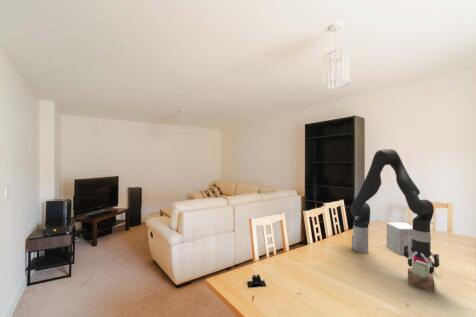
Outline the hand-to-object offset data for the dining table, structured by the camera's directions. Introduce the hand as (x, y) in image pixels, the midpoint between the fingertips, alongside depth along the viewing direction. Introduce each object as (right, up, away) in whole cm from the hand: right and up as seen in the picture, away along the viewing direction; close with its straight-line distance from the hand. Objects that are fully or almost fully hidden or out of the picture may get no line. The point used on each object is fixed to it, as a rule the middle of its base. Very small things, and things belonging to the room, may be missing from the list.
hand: (420, 269), depth 115 cm
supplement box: (+19, -6, +39) cm, 43 cm away
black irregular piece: (-85, -9, +1) cm, 85 cm away
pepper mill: (+12, -7, +15) cm, 20 cm away
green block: (0, -3, 0) cm, 3 cm away
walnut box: (0, -8, 0) cm, 8 cm away
